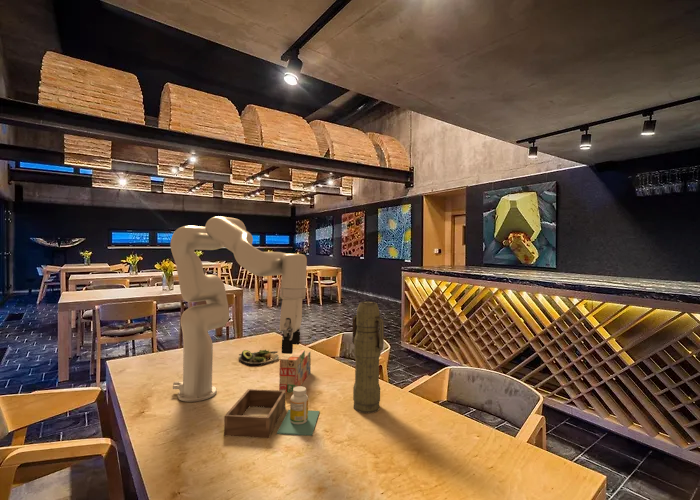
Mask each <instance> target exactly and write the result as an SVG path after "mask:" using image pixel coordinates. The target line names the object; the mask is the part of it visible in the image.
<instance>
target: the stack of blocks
mask: <svg viewBox="0 0 700 500" xmlns="http://www.w3.org/2000/svg"><path fill="white" fill-rule="evenodd" d="M311 361H312V359H311V350H305V349H293V353H292V354H283V356H282V357H279V384H278V385H279V386H278V390H281V391H286V393H291V392H293V388H295V387H298V386H302V385H303V383H304V382H305V381H306V379H307V378H308V377H309V375H310V374H311V364H312V363H311Z"/></svg>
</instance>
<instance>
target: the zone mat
mask: <svg viewBox="0 0 700 500" xmlns="http://www.w3.org/2000/svg"><path fill="white" fill-rule="evenodd" d="M319 414H320V410H309V409H308V420H307V422H305V423H304V424H299V425H297V424H293V423H291V421H290V409H288V410H287V412H286V414H285V416H284V418H283V420H282V422H281V424H280V425H279V428H278V430H277V432H276V435H291V436H294V435H295V436H313V433H314V430H315V427H316V424H317V421H318V417H319Z"/></svg>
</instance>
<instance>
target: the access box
mask: <svg viewBox="0 0 700 500" xmlns="http://www.w3.org/2000/svg"><path fill="white" fill-rule="evenodd" d="M286 393H287V392H286V391H281V390H279V389H277V390H276V389H257V388H256V389H255V388H247V390H246V391H245V392H244V393H243V394H242V395H241V396H240V397H239V399H238V400H237V401H236V402H235V403H234V405H233V406H232V407H231V408H230V409H229V410H228V411H227V412H226V413H225V414H224V416H223V436H224V437H237V438H238V437H240V438H262V439H269V438H270V436H271V435H272V432H273V431H274V429H275V427H276V425H277V423H278V421H279V419H280V418H281V416H282V414H283V413H284V410H285V409H286ZM249 408H264V409H265V408H268V409H269V408H270V411H269V413H268V414H267V416H261V415H244V414H245V413H246V412H247V411H248V409H249Z"/></svg>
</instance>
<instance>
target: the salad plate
mask: <svg viewBox="0 0 700 500" xmlns="http://www.w3.org/2000/svg"><path fill="white" fill-rule="evenodd" d="M278 352H279V351H278V350H277V351H276V350H274V351H271V350H270V349H268V350H267V349H263V350H262V349H260V350H259V351H255V352H251V351H249V350H247V349H244V350H242V352H241V353H239V354H238V361H239V362H240V363H241V364H243V365H244V366H249V367H257V366H264V365H267V363H268V364H270V363H273V361H274V362H275V361H278V359H280V356H279V355H277V353H278ZM268 358H272V359H273V360H272V359H270V360H269V359H268ZM267 360H268V361H267Z"/></svg>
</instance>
